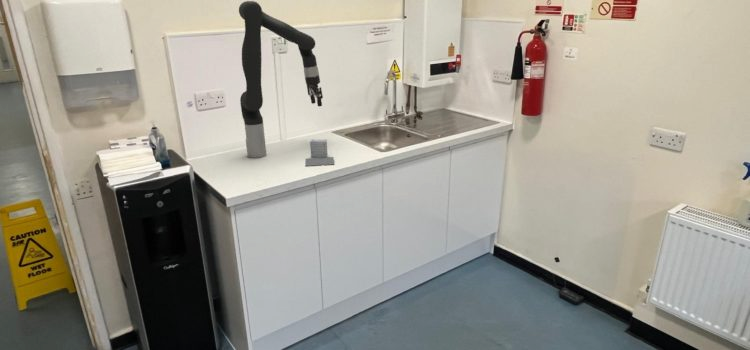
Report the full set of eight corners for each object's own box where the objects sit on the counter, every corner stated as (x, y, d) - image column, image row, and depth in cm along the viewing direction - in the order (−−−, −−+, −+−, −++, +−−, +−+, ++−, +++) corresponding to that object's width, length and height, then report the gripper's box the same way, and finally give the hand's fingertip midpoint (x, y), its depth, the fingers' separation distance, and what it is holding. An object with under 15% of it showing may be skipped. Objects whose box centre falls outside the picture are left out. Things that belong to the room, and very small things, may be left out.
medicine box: (327, 155, 239) (326, 139, 236) (326, 158, 235) (325, 141, 232) (312, 155, 240) (311, 139, 237) (310, 158, 235) (309, 141, 232)
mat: (305, 166, 223) (305, 165, 223) (305, 159, 234) (305, 158, 233) (334, 164, 225) (334, 164, 225) (333, 157, 235) (333, 156, 235)
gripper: (300, 74, 247) (305, 104, 254) (310, 78, 236) (315, 108, 242) (312, 71, 250) (317, 100, 257) (323, 75, 239) (328, 105, 245)
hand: (316, 104), depth 250 cm, fingers open, 8 cm apart
